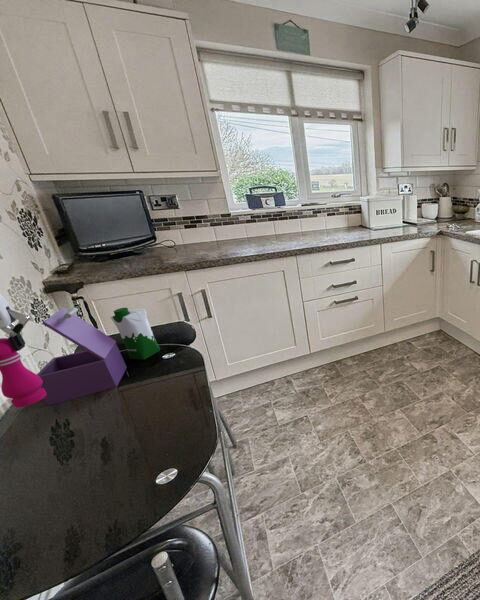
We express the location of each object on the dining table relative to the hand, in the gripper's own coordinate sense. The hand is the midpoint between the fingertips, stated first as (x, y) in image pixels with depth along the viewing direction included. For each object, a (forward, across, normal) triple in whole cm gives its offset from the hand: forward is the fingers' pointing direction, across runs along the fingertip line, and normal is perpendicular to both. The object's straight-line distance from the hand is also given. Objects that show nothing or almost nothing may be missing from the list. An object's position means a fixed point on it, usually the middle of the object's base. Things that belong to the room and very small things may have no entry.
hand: (2, 352), depth 83 cm
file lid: (+6, +9, +19) cm, 22 cm away
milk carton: (+24, +18, +34) cm, 45 cm away
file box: (+24, +5, +19) cm, 31 cm away
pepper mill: (+15, 0, 0) cm, 15 cm away
